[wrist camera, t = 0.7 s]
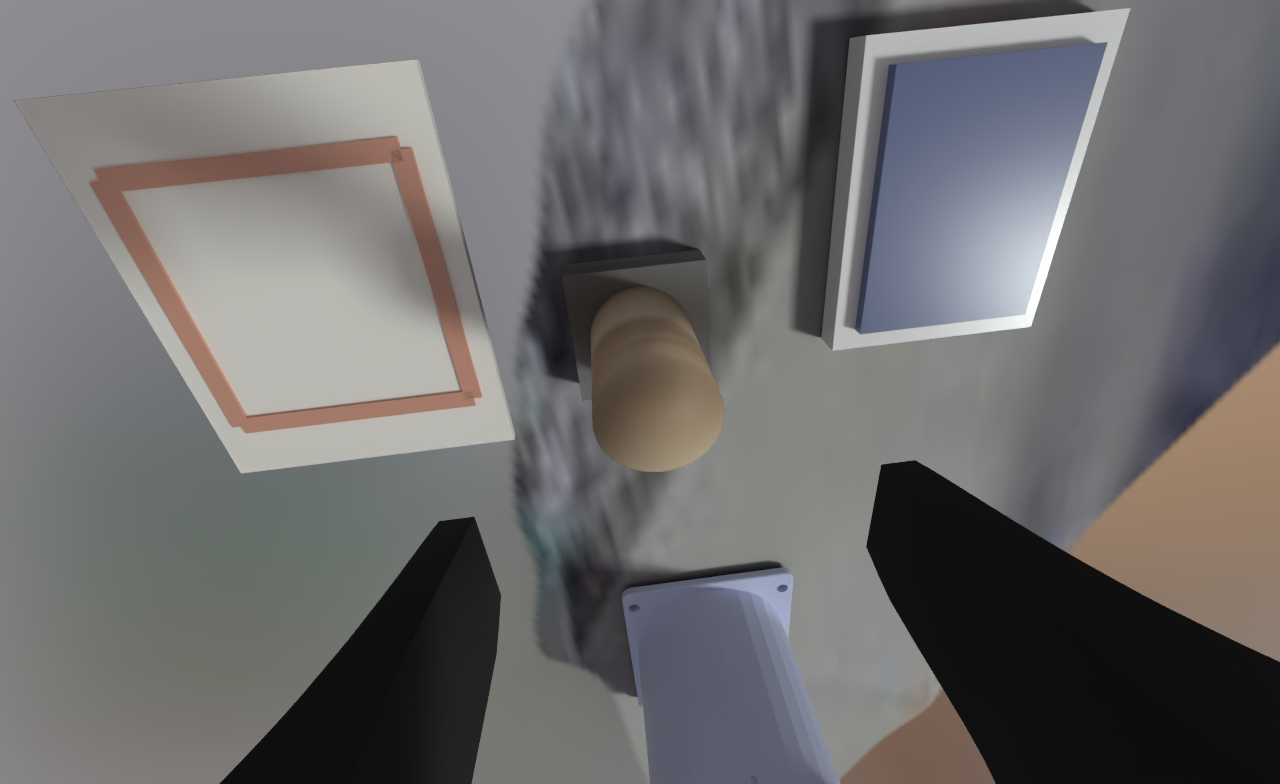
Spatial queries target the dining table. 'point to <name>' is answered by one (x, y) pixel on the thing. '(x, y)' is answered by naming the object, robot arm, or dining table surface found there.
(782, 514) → the dining table surface
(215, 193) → the sheet
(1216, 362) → the dining table surface
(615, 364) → the stamp
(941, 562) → the robot arm
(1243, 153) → the dining table surface
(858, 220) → the ink pad
